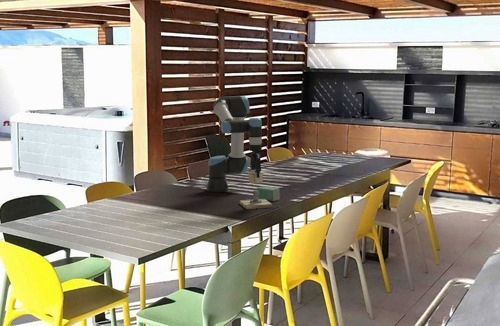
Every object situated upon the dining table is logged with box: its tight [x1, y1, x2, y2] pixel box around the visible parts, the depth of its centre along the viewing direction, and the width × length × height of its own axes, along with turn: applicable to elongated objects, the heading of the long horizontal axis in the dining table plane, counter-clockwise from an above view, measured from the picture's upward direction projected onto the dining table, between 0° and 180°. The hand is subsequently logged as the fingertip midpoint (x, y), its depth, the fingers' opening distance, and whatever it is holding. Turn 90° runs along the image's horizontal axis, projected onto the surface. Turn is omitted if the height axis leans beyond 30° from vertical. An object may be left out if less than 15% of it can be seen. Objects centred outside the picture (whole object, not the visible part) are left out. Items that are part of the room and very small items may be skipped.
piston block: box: [239, 189, 273, 210], centre depth 361 cm, size 16×16×9 cm
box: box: [256, 185, 281, 202], centre depth 381 cm, size 7×14×8 cm, turn 52°
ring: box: [248, 173, 264, 184], centre depth 360 cm, size 8×8×4 cm
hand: (255, 181), depth 360 cm, fingers closed on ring, 8 cm apart
